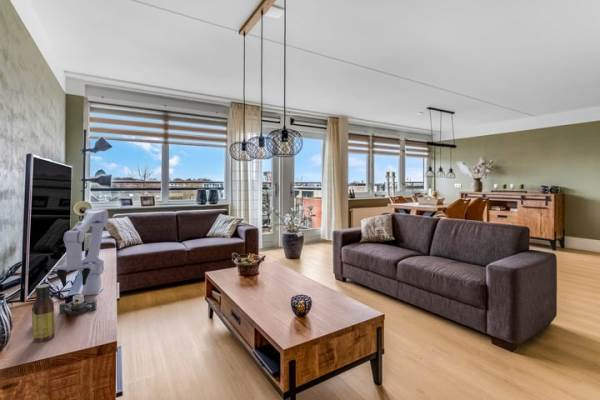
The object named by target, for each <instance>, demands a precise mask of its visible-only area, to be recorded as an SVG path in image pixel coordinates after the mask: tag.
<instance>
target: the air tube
mask: <svg viewBox="0 0 600 400" xmlns="http://www.w3.org/2000/svg"><path fill="white" fill-rule="evenodd" d="M84 299H85V295H84V294H81V293H79V294H75V295H73V296H72V301H73V305H74V304H77V305H80V304H84ZM81 309H84V307H83V308H80V309H73V311H76V310H81Z"/></svg>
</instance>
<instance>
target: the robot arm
mask: <svg viewBox="0 0 600 400" xmlns="http://www.w3.org/2000/svg"><path fill="white" fill-rule="evenodd" d="M108 221H109V211H108V210H107V208H104V209H103V208H101V209H100V208H99V209H98V208H97V209H96V208H94V209H93V208H91V209H90V208H87V209H85V210H84V212H83V218H82V220H81V221H78V222H76V223H75V225H74V226H73V227H72V229H70V230H67V231H65V232H64V234H63V242H64V247H65V248H66V251H65V253H66V258H65V259H66V260H65V261H66V264H65V265H56V266H54V272H56V275H57V276H58V278H59V280H60V282H61V286H62V287H64V288H65V287H66V286H67V273H68V271H77V270H78V275H80V276H81V278H82V282H81V283H82V290H83V291H82V292H83V293H84V296H92V295H93V296H94V295H99V294H100V293H101V292H102V291H103V289H104V287H102V277H101V275H102V274H103V273H104V270H105V266H104V265H105V261H104V260H103V259H102V258H100V250H101V246H102V245H101V244H102V239H103V233H104V232H103V231H104V227H106V226H107V225H108V223H109V222H108ZM90 227H92V229H91V235H90V241H89V247H88V251H87V256H86V257H85V258H83V248H82V247H83V242H84V239H85V237H86V234H87V232H88V231H89V229H90Z"/></svg>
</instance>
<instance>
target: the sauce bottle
mask: <svg viewBox="0 0 600 400" xmlns="http://www.w3.org/2000/svg"><path fill="white" fill-rule="evenodd" d="M34 289H35V300H34V303H33V306H32V307H31V318H32V321H31V322H32V338H33V339H32V340H33V341H34V342H38V343H39V342H45V341H49V340H50V339H52V338H54V337H55V334H56V333H55V331H56V323H55V321H56V319H55V315H56V314H55V303H54V300H53V298H50V297H51V295H50V289H51V284H47V283H44V284H39V285H36V286H35V288H34Z"/></svg>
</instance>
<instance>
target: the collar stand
mask: <svg viewBox="0 0 600 400" xmlns="http://www.w3.org/2000/svg"><path fill="white" fill-rule="evenodd" d="M83 307H84V309H81V310H76V311H73V309H80V308H83ZM97 309H98V300H97V299H95V300H94V299H93V300H92V301H90V300H89V299H85V298H84V304H80V305H77V304H74V305H73V300H72V301H70V302H68V303H66V302H61V303H59V308H58V310H59V311H58V312H59V313H58V314H61V315H62V314H65V313H66V314H68V315H70V316H72V315H73V316H74V315H81V314H84V313H87V312H88V311H91V312H92V311H94V312H95V311H96V310H97Z"/></svg>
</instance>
